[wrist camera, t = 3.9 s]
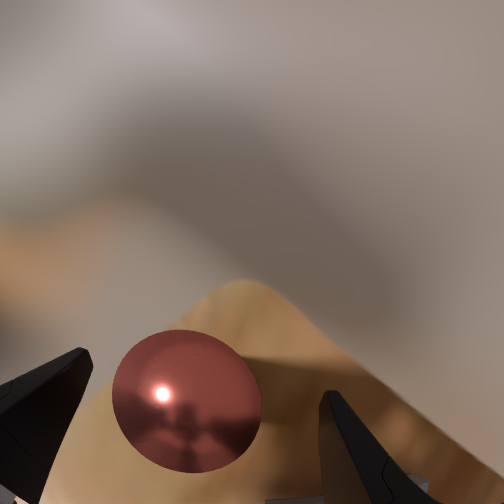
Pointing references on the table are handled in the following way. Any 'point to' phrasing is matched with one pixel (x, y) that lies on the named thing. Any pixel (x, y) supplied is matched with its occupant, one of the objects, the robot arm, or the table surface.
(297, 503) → the tray
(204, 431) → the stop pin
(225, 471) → the table surface
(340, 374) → the table surface
